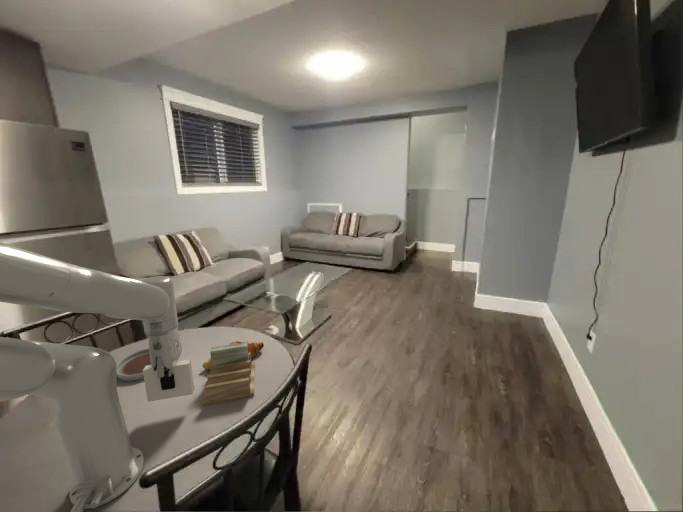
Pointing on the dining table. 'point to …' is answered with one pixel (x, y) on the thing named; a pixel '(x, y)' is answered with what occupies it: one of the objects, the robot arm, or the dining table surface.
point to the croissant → (252, 348)
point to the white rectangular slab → (181, 377)
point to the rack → (230, 374)
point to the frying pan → (133, 365)
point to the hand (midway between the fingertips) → (170, 384)
